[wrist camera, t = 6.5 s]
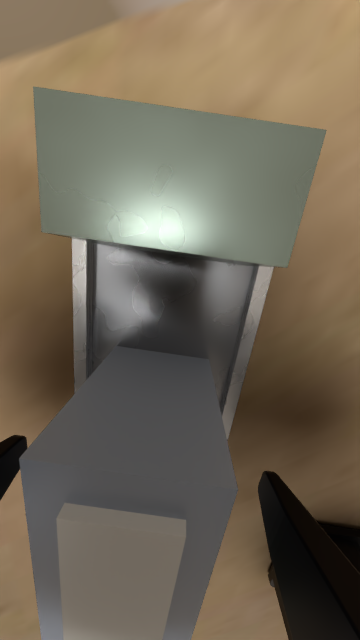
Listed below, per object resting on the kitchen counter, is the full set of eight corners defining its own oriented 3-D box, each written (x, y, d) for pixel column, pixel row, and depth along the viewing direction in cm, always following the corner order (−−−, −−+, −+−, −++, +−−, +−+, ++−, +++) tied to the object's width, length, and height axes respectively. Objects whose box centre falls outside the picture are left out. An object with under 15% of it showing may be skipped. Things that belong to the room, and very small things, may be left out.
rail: (269, 204, 8) (366, 136, 4) (192, 525, 14) (194, 648, 9) (98, 179, 8) (-8, 80, 4) (92, 511, 14) (48, 627, 9)
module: (209, 359, 8) (241, 505, 3) (185, 477, 10) (182, 682, 5) (116, 346, 8) (7, 472, 3) (109, 467, 10) (35, 662, 5)
